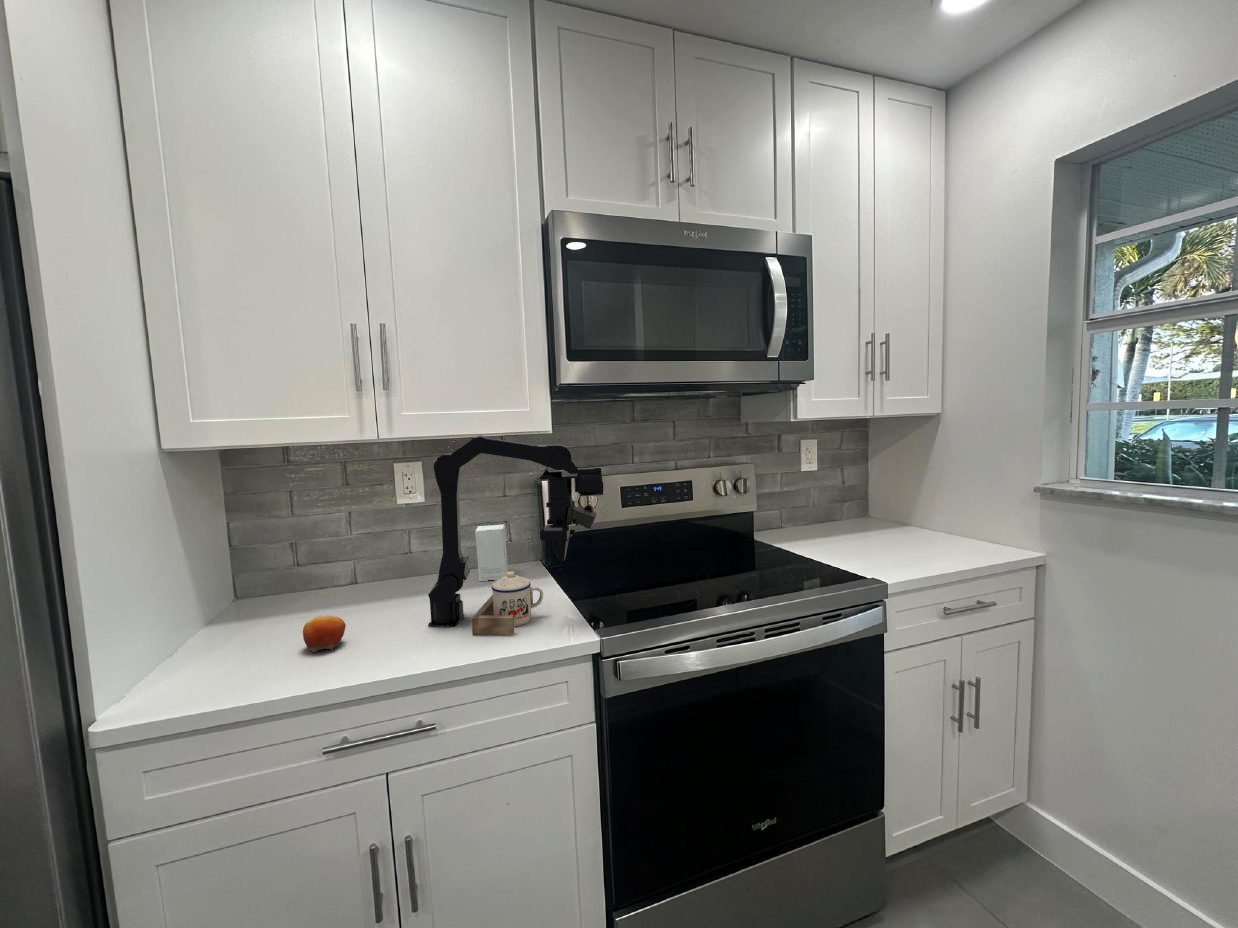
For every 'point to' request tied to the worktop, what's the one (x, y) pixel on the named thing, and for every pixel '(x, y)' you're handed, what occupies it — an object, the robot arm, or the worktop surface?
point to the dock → (493, 621)
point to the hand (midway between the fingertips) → (562, 561)
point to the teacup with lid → (514, 598)
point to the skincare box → (491, 552)
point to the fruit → (323, 632)
